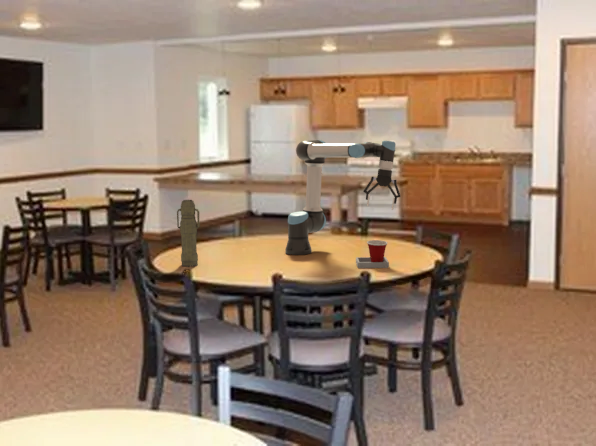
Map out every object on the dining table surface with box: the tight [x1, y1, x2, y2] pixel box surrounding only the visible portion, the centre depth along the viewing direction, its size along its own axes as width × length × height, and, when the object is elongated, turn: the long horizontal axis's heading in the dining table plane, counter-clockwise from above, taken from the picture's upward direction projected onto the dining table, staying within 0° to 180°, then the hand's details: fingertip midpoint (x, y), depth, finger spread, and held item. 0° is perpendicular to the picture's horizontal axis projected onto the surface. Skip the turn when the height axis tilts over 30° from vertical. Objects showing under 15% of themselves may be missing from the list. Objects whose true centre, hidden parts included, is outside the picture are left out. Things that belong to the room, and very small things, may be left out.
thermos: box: [176, 199, 200, 268], centre depth 426 cm, size 9×12×35 cm
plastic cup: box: [366, 239, 388, 262], centre depth 419 cm, size 11×11×12 cm
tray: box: [355, 256, 390, 269], centre depth 422 cm, size 16×16×3 cm
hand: (379, 207), depth 437 cm, fingers open, 13 cm apart
